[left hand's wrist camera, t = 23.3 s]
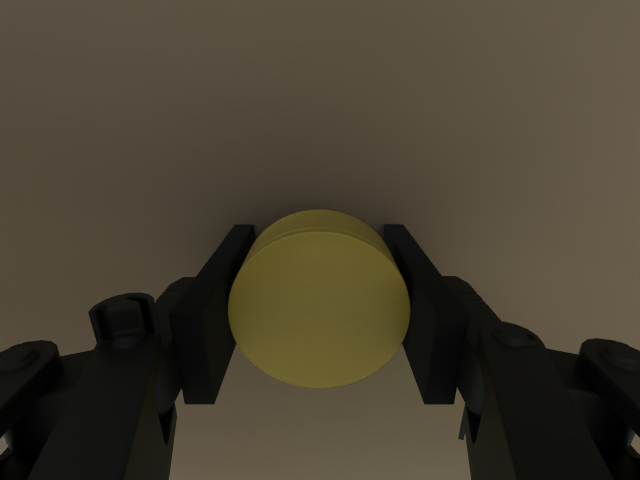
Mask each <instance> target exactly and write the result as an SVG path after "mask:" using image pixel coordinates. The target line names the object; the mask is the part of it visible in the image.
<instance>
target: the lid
mask: <svg viewBox="0 0 640 480" xmlns="http://www.w3.org/2000/svg"><path fill="white" fill-rule="evenodd" d="M410 312H411V307H410V298H409V293H408V289H407V287H406V284H405V282H404V279H403V277H402V275H401V273H400V271H399V269H398V267H397V265H396V263H395V261H394V259H393V257H392V255H391V253H390V251H389V249H388V247H387V246H386V244H385V242H384V241H383V240H382V238H381V237H380V236H379V235H378V234H377V233H376V232H375V231H374V230H373V229H372V228H371V227H370V226H368V225H367V224H366V223H364V222H363V221H361V220H359V219H357V218H355V217H353V216H351V215H348V214H345V213H342V212H338V211H333V210H324V209H318V210H306V211H300V212H297V213H293V214H290V215H288V216H286V217H283V218H281V219H279V220H278V221H276V222H274V223H273V224H272V225H270V226H269V227H268V228H267V229H265V230H264V231H263V232H262V233H261V234H260V235H259V237H258V238H257V239H256V241H255V242H254V243H253V245H252V247H251V249H250V251H249V253H248V255H247V257H246V259H245V261H244V262H243V264H242V266H241V268H240V270H239V272H238V274H237V276H236V278H235V280H234V282H233V285H232V288H231V291H230V294H229V300H228V318H229V325H230V328H231V332H232V335H233V337H234V339H235V341H236V343H237V345H238V346H239V348H240V350H241V351H242V353H243V354H244V355H245V356H246V357H247V358H248V360H249V361H250V362H252V363H253V364H254V365H255V366H256V367H257V368H259V369H260V370H261V371H263V372H264V373H266V374H268V375H269V376H271V377H273V378H275V379H277V380H280V381H282V382H285V383H288V384H291V385H295V386H300V387H305V388H332V387H339V386H344V385H348V384H351V383H354V382H357V381H359V380H361V379H364V378H366V377H368V376H369V375H371V374H373V373H374V372H376V371H377V370H379V369H380V368H381V367H383V366H384V365H385V364H386V363H387V362H388V361H389V360H390V359H391V358H392V357H393V356H394V354H395V353H396V352H397V350H398V349H399V347H400V346H401V344H402V342H403V340H404V338H405V335H406V333H407V330H408V326H409V322H410Z"/></svg>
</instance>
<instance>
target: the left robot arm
mask: <svg viewBox="0 0 640 480" xmlns="http://www.w3.org/2000/svg"><path fill="white" fill-rule="evenodd" d="M254 242H255V236H254V225H235V226H234V227H233V228H232V230H231V231H230V232H229V234H228V235H227V236H226V238H225V239H224V240H223V242H222V243H221V244H220V246H219V247H218V248H217V250H216V251H215V252H214V254H213V255H212V256H211V258H210V259H209V260H208V261H207V263H206V264H205V265H204V267H203V268H202V269H201V271H200V272H199V273H198V275H197V276H196V277H182V278H181V279H179V280H177V281H175V282H174V283H172V284H170V285H169V286H168V288H167V289H166V290H165V291H164V292H163V293H162V295H161V296H160V297H159V298H158V299H157V300H156V303H154V298H153V297H152V296H150V295H149V294H144V293H127V294H122V295H117V296H114V297H111V298H108V299H106V300H104V301H102V302H100V303H98V304H97V305H95V306H94V307H93V308H92V309H91V310H90V311H89V312H88V313H89V316H90V320H91V323H92V327H93V330H94V334H95V337H96V341H97V344H96V346H95V348H94V350H90V351H86V352H81V353H76V354H70V355H65V356H60V354H59V351H58V348H57V345H56V344H54V343H53V342H52V341H44V340H40V341H32V342H25V343H22V344H18V345H15V346H12V347H10V348H9V349H7V350H4V351H2V352H0V438H1V437H2V436H4V438H5V440H6V443H7V445H8V448H7V449H6V450H5V451H4V452H3V453H2V454H1V455H0V480H169V474H170V466H171V459H172V451H173V443H174V436H175V428H176V420H177V413H176V407H175V400H176V398H177V396H178V394H179V392H180V390H181V388H182V391H183V397H184V402H185V404H214V403H215V401H216V398H217V395H218V392H219V390H220V387H221V384H222V381H223V379H224V376H225V373H226V370H227V368H228V365H229V362H230V359H231V356H232V354H233V351H234V348H235V345H236V341H235V339H234V337H233V335H232V332H231V328H230V325H229V318H228V300H229V294H230V291H231V288H232V285H233V282H234V280H235V278H236V276H237V274H238V272H239V270H240V268H241V266H242V264H243V262H244V261H245V259H246V257H247V255H248V253H249V251H250V249H251V247H252V245H253V243H254ZM384 242H385V244H386V246H387V247H388V249H389V251H390V253H391V255H392V257H393V259H394V261H395V263H396V265H397V267H398V269H399V271H400V273H401V275H402V277H403V279H404V282H405V284H406V287H407V289H408V293H409V298H410V307H411V312H410V322H409V326H408V330H407V333H406V335H405V338H404V340H403V342H402V344H403V347H404V350H405V352H406V355H407V358H408V361H409V363H410V366H411V369H412V372H413V374H414V377H415V380H416V383H417V385H418V388H419V391H420V394H421V396H422V399H423V402H424V404H454V400H455V394H456V389H457V387H458V389H459V391H460V393H461V395H462V397H463V399H464V401H465V407H464V412H463V417H462V422H461V427H460V432H459V439H461V440H463V439H464V434H465V435H466V442H467V450H468V458H469V465H470V473H471V480H640V454H639V453H637V452H636V450H635V449H634V448H633V447H632V446H631V445H630V444H631V442H632V440H633V438H634V436H635V433H636V434H637V435H638V436H639V437H640V351H639V350H637V349H634V348H632V347H630V346H628V345H627V344H624V343H621V342H617V341H613V340H606V339H598V338H596V339H588V340H586V341H585V342H583V343H582V345H581V348H580V351H579V354H578V355H577V354H572V353H567V352H562V351H556V350H551V349H547V348H545V346H544V344H543V342H542V341H541V340H540V339H539V337H538V336H537V335H535V334H534V333H532V332H531V331H529V330H528V329H526V328H523V327H521V326H519V325H516V324H512V323H508V322H502V321H501V320H500V319H499V318H498V317H497V315H496V314H495V313H494V312H493V311H492V310H491V309H490V307H489V306H488V305H487V304H486V303H485V302H484V301H483V299H482V298H481V297H480V296H479V295H478V294H476V291H475V290H474V289H473V288H472V287H471V286H470V285H469V283H467V282H465V281H463V280H462V279H460V278H458V277H457V276H441V274H440V273H439V272H438V270H437V269H436V268H435V266H434V265H433V264H432V262H431V261H430V260H429V258H428V257H427V256H426V254H425V253H424V252H423V250H422V249H421V248H420V246H419V245H418V244H417V242H416V241H415V240H414V238H413V237H412V236H411V234H410V233H409V232H408V230H407V229H406V228H405V226H404V225H385V228H384Z"/></svg>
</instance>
